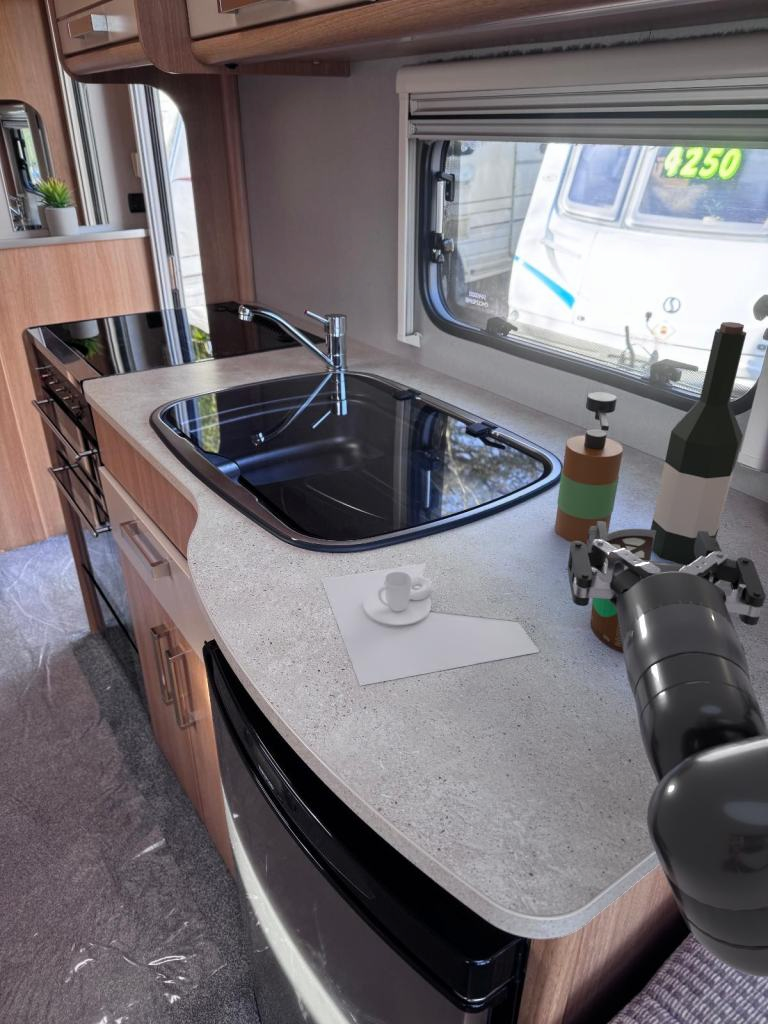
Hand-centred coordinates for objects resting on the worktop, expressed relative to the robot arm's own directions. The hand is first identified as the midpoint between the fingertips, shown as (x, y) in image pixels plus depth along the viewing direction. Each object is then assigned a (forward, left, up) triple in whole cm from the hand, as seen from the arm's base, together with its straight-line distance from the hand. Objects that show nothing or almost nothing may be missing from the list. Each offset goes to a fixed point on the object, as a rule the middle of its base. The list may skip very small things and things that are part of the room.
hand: (649, 535), depth 64 cm
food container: (0, -11, -18) cm, 22 cm away
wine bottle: (-11, -30, -18) cm, 37 cm away
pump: (+2, -29, -1) cm, 30 cm away
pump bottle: (+2, -32, -18) cm, 37 cm away
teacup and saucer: (+21, -9, -18) cm, 29 cm away
